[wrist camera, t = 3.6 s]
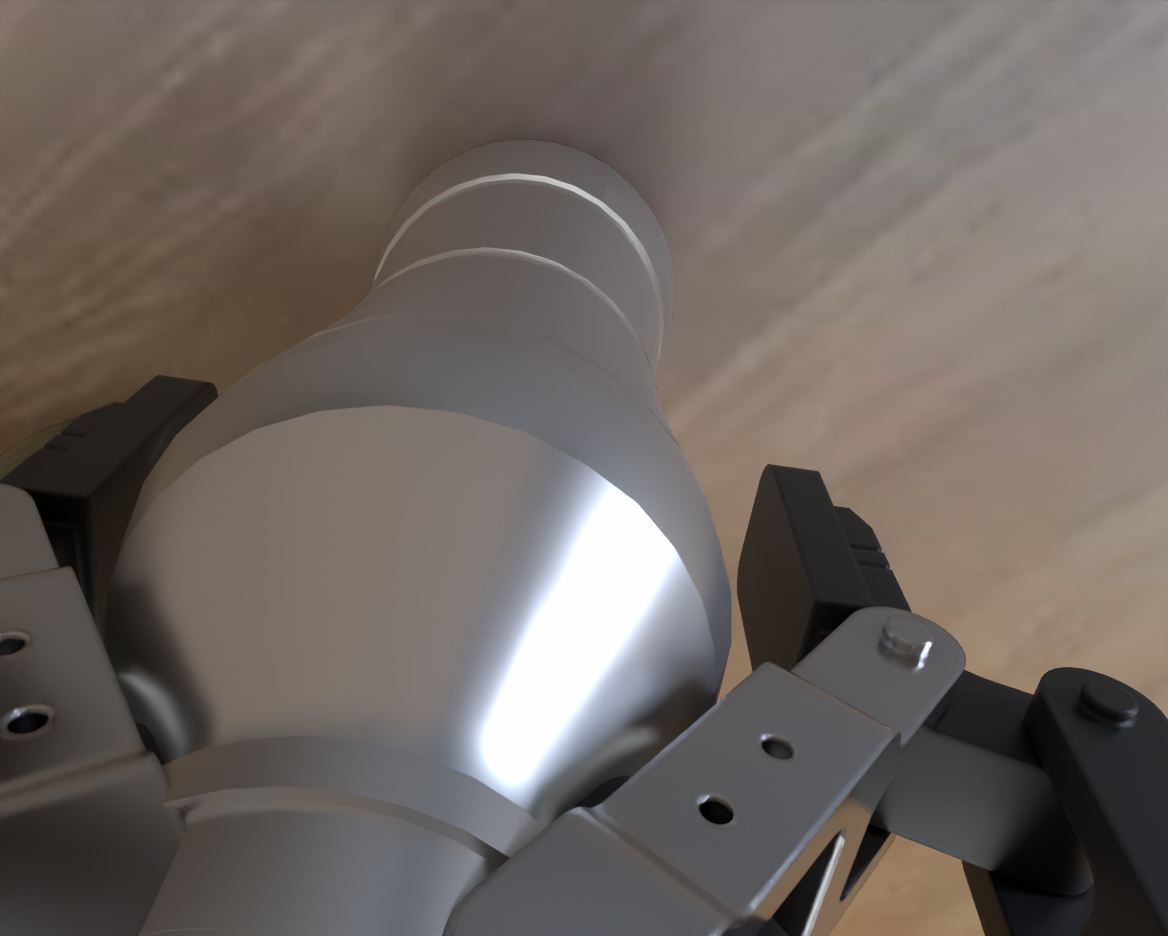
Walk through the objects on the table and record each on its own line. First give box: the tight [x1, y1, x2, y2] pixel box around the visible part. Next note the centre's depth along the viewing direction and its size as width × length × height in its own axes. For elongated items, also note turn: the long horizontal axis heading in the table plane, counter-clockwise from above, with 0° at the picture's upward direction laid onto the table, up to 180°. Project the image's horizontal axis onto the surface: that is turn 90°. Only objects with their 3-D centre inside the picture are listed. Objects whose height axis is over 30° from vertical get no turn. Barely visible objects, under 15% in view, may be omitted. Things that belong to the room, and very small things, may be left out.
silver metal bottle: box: [103, 139, 731, 936], centre depth 14 cm, size 6×7×20 cm
